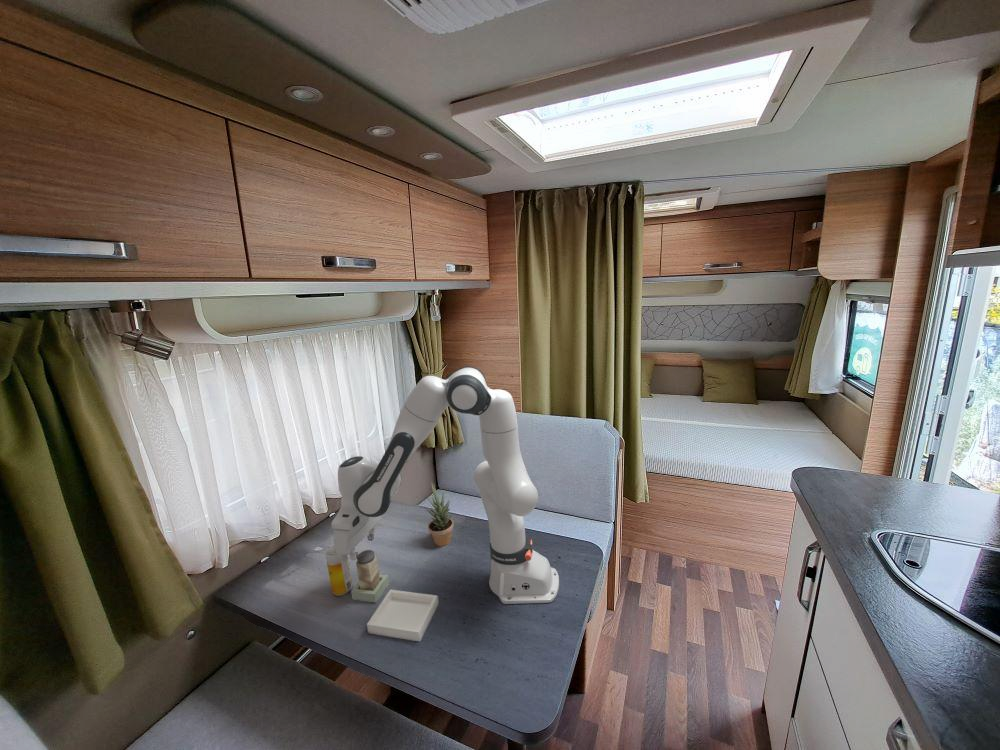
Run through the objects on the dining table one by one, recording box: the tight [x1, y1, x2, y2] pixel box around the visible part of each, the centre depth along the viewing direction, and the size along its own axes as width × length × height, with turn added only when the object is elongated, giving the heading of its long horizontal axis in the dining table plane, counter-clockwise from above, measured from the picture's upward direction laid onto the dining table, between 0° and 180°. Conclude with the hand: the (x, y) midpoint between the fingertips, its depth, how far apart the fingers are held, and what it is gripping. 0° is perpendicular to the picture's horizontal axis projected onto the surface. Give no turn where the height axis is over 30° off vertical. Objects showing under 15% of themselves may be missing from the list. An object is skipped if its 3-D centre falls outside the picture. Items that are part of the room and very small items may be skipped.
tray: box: [366, 589, 440, 642], centre depth 111 cm, size 16×13×3 cm
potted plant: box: [425, 482, 454, 547], centre depth 143 cm, size 10×10×25 cm
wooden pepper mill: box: [355, 549, 380, 591], centre depth 122 cm, size 5×5×13 cm
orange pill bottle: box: [325, 545, 353, 597], centre depth 123 cm, size 6×6×15 cm
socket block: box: [350, 573, 390, 604], centre depth 123 cm, size 8×8×3 cm
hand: (363, 548), depth 120 cm, fingers open, 8 cm apart
